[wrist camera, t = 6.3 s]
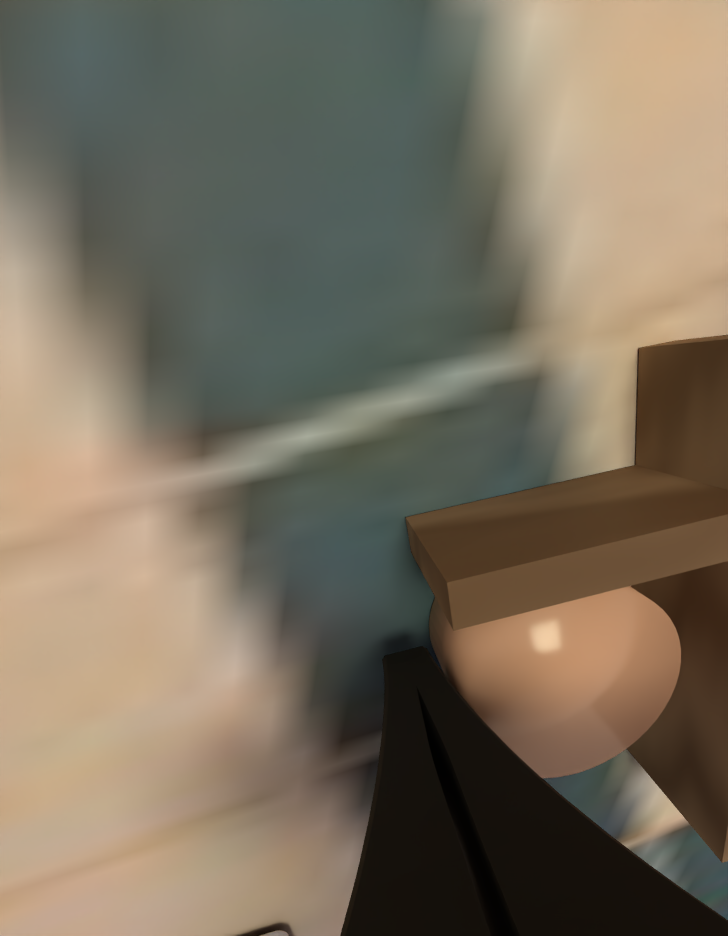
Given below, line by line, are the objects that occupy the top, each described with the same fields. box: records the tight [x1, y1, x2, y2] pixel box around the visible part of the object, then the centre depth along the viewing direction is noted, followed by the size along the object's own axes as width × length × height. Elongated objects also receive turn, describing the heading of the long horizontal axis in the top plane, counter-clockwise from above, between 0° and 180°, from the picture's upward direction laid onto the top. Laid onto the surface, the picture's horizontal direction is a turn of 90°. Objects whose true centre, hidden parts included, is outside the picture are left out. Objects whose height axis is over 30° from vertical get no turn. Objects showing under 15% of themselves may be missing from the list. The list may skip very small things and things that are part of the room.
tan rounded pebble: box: [429, 586, 681, 778], centre depth 10 cm, size 6×6×3 cm
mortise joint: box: [406, 335, 728, 863], centre depth 10 cm, size 16×9×4 cm, turn 10°
